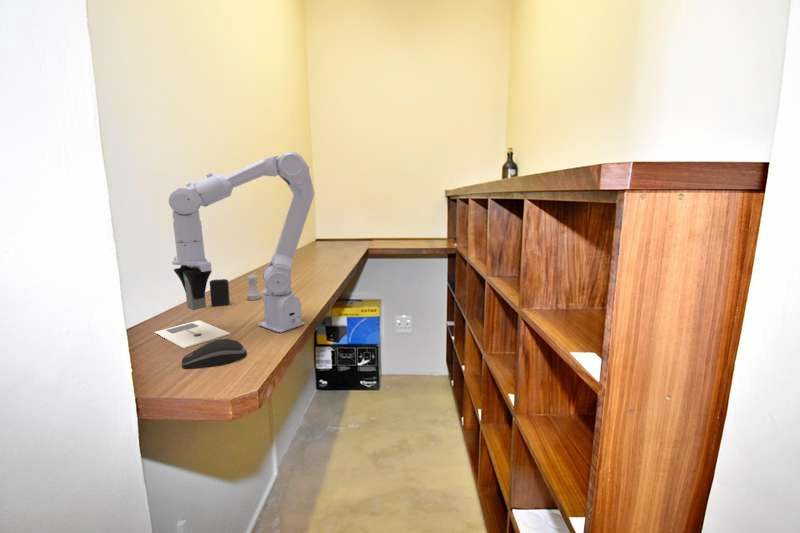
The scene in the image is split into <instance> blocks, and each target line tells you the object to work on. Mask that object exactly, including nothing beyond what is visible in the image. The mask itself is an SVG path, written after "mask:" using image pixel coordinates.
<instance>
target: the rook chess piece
mask: <svg viewBox="0 0 800 533" xmlns="http://www.w3.org/2000/svg"><path fill="white" fill-rule="evenodd" d="M246 279H247V280H248V281H247V284H248V291H247V293H246V296H247V297H246V299H247V300H248V301H257V300H261V297H262V296H261V292H260V290H259V289H258V288H259V287H258V285H257V284H258V281H257V279H258V276H257V274H256V273H251V274H248V275H247V277H246Z"/></svg>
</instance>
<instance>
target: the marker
mask: <svg viewBox="0 0 800 533" xmlns="http://www.w3.org/2000/svg"><path fill="white" fill-rule="evenodd" d="M183 276H184V282H185V290H186V292H185V298H186V299H185V300H186V307H187V309H189V310H192V311H196V310H200V309H204V308H207V304H206V295H205V296H204V298H200V299H194V297H193V294H192V291H191V286H190V283H189V281H188V279H187V277H186V276H185V274H184V273H183ZM185 290H184V291H185Z"/></svg>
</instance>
